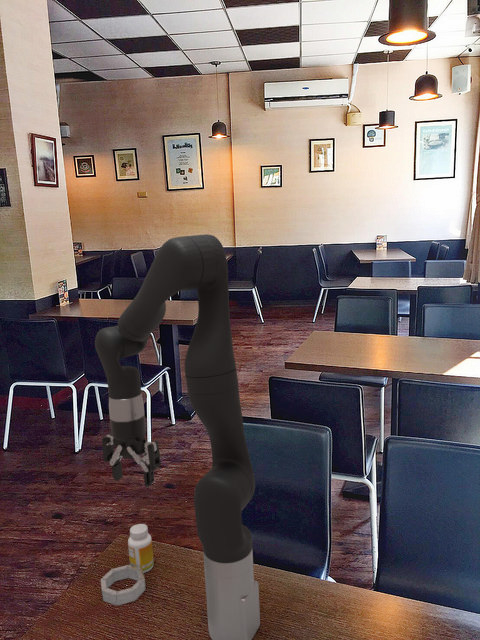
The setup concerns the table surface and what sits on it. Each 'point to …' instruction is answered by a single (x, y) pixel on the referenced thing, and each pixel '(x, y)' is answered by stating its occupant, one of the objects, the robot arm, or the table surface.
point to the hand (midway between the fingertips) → (133, 482)
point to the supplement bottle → (140, 547)
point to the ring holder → (126, 594)
